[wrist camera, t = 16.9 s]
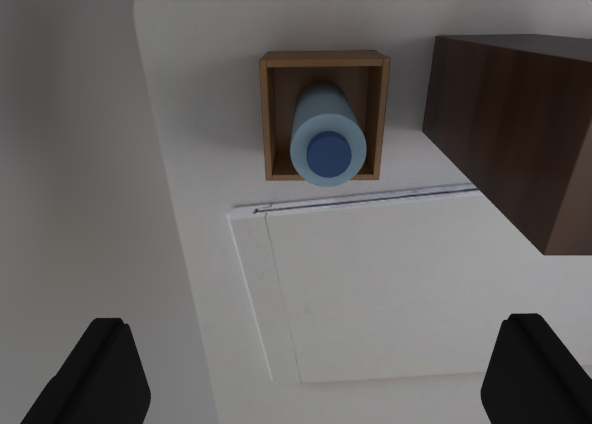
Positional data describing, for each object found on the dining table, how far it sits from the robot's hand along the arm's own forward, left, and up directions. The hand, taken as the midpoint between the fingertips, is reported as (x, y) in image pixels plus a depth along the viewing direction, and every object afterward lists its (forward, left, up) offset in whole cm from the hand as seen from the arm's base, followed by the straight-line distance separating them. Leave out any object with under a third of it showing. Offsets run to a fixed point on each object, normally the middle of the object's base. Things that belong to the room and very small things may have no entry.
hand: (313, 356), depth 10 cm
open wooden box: (+1, +1, -27) cm, 27 cm away
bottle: (+1, +1, -27) cm, 27 cm away
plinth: (+13, +7, -27) cm, 31 cm away
